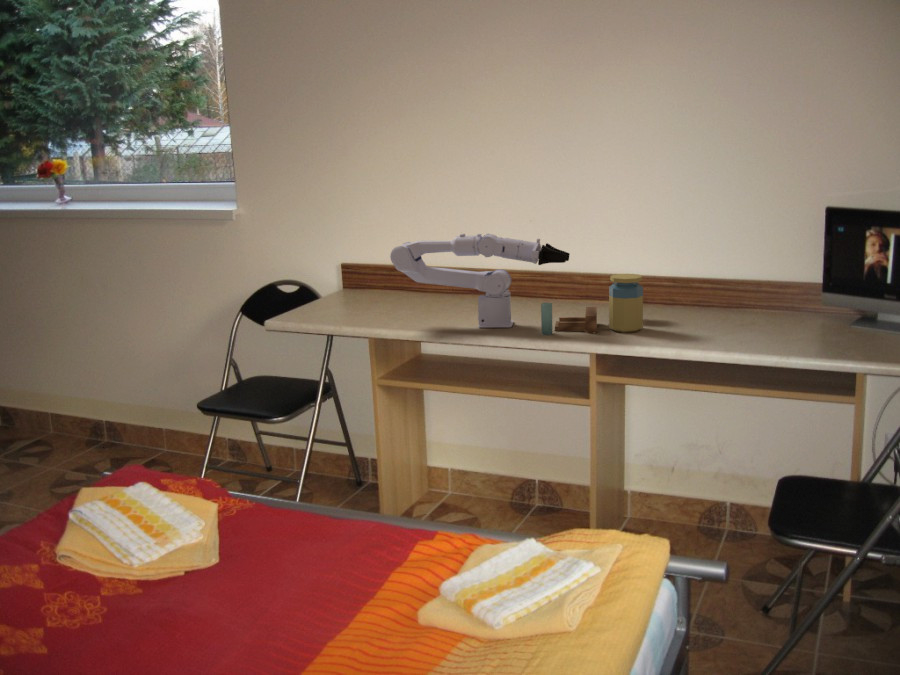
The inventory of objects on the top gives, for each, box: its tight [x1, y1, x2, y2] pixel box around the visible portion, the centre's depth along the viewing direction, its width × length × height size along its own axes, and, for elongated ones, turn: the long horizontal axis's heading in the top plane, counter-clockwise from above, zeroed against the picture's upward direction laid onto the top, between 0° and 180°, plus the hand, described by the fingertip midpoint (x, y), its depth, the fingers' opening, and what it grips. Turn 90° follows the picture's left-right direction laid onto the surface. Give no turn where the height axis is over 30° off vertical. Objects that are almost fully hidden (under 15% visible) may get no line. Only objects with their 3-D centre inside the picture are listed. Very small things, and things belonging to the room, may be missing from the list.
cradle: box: [554, 306, 598, 334], centre depth 262 cm, size 12×12×5 cm
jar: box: [608, 273, 644, 334], centre depth 257 cm, size 9×9×15 cm
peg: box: [540, 302, 553, 336], centre depth 256 cm, size 3×3×8 cm
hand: (567, 257), depth 261 cm, fingers open, 7 cm apart
